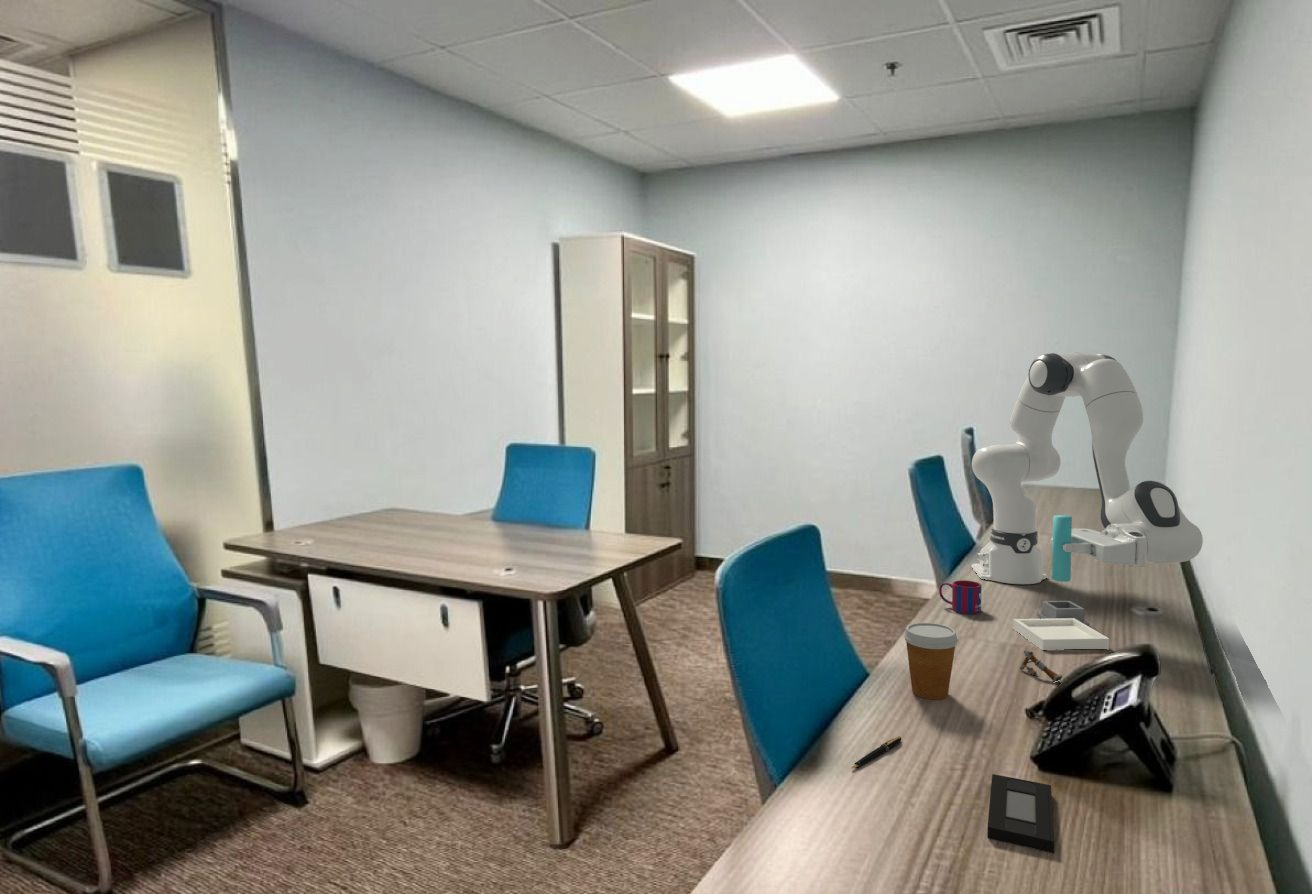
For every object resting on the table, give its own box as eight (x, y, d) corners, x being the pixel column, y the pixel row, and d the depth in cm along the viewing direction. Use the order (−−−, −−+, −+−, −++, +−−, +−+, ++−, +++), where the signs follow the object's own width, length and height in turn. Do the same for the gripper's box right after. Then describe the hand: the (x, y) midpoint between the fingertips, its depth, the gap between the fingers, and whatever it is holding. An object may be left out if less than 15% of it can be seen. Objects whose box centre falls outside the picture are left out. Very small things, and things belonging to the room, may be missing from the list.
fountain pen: (853, 774, 113) (853, 764, 113) (847, 771, 114) (846, 762, 114) (904, 742, 123) (904, 733, 122) (898, 740, 123) (898, 731, 123)
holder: (1037, 616, 184) (1037, 600, 184) (1070, 616, 184) (1071, 599, 184) (1054, 627, 176) (1054, 610, 176) (1088, 626, 176) (1089, 609, 176)
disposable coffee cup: (892, 687, 144) (892, 625, 143) (933, 679, 147) (933, 619, 146) (926, 707, 135) (927, 641, 134) (969, 698, 138) (970, 634, 137)
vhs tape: (987, 841, 96) (987, 826, 96) (991, 787, 109) (992, 773, 109) (1053, 857, 93) (1054, 841, 93) (1050, 798, 106) (1051, 785, 106)
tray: (1012, 629, 175) (1012, 619, 175) (1073, 628, 175) (1074, 618, 175) (1042, 650, 162) (1042, 639, 161) (1109, 649, 161) (1109, 638, 161)
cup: (975, 616, 186) (975, 588, 185) (935, 608, 192) (935, 582, 192) (985, 609, 191) (985, 583, 190) (945, 602, 197) (945, 576, 197)
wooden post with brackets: (1019, 663, 152) (1028, 646, 150) (1053, 692, 146) (1063, 674, 144) (1014, 665, 151) (1022, 648, 149) (1048, 694, 145) (1057, 676, 143)
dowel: (1048, 577, 169) (1050, 515, 168) (1065, 577, 169) (1066, 515, 168) (1057, 581, 165) (1058, 518, 164) (1073, 581, 165) (1075, 517, 164)
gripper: (1095, 521, 176) (1035, 522, 177) (1151, 538, 156) (1083, 540, 156) (1094, 547, 177) (1034, 549, 177) (1150, 569, 157) (1082, 570, 157)
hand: (1057, 545), depth 167 cm, fingers closed on dowel, 4 cm apart
